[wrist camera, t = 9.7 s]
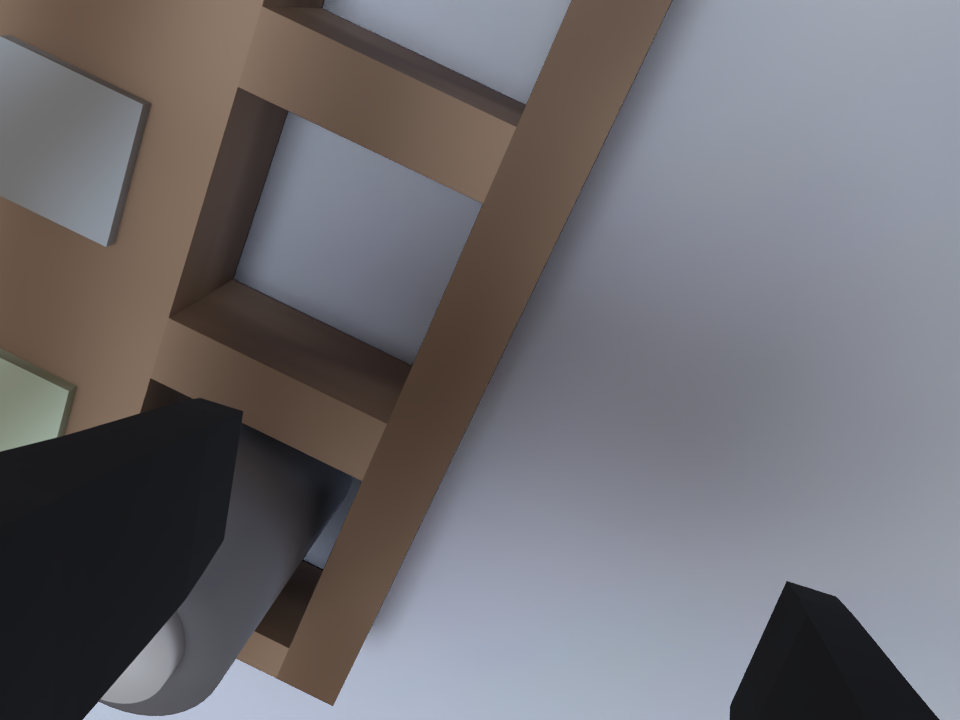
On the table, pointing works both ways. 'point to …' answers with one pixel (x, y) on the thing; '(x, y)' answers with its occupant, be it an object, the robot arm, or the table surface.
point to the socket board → (224, 228)
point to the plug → (235, 576)
